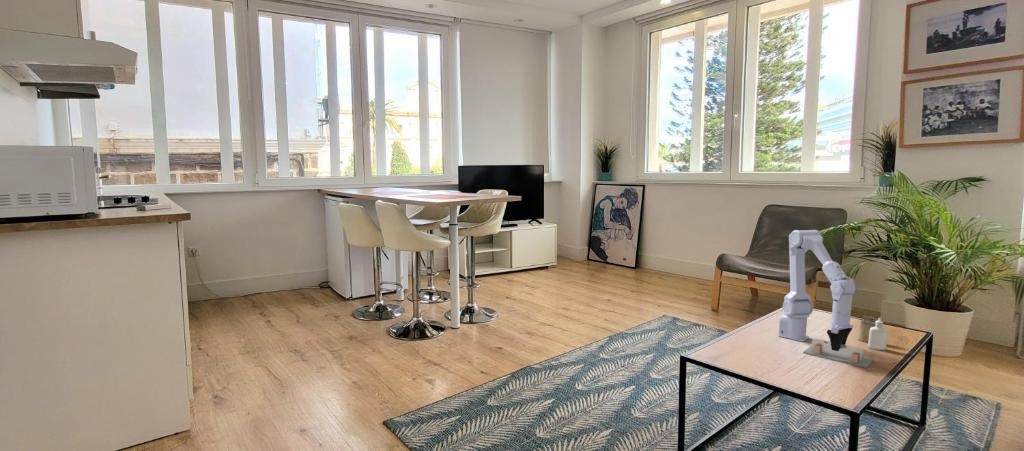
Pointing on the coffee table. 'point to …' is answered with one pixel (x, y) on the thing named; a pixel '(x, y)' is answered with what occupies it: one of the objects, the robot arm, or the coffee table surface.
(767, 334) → the coffee table surface
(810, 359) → the coffee table surface
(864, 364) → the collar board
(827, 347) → the silver long block
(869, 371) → the coffee table surface
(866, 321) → the lighter
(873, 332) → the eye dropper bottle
